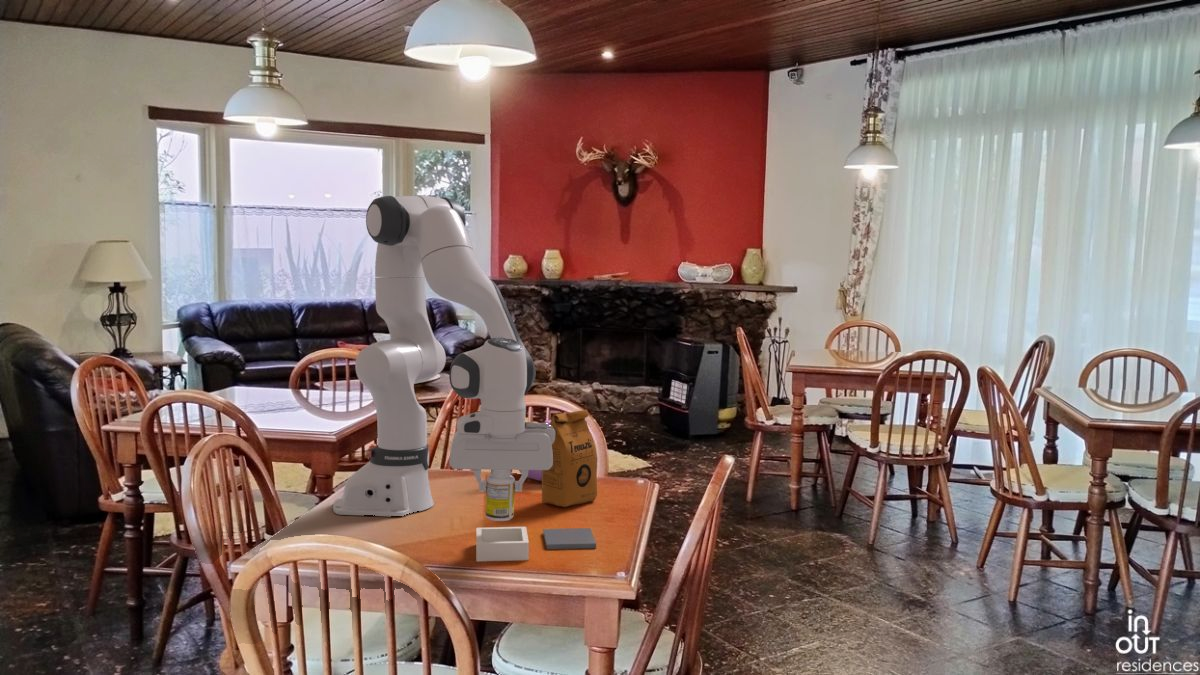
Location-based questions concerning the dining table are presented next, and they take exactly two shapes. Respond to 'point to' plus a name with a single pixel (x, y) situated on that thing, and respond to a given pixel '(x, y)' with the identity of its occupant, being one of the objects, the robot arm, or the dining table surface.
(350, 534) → the dining table surface
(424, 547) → the dining table surface
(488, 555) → the pocket
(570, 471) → the coffee package
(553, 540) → the coaster
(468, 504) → the dining table surface
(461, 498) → the dining table surface
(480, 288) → the robot arm
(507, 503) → the supplement bottle
